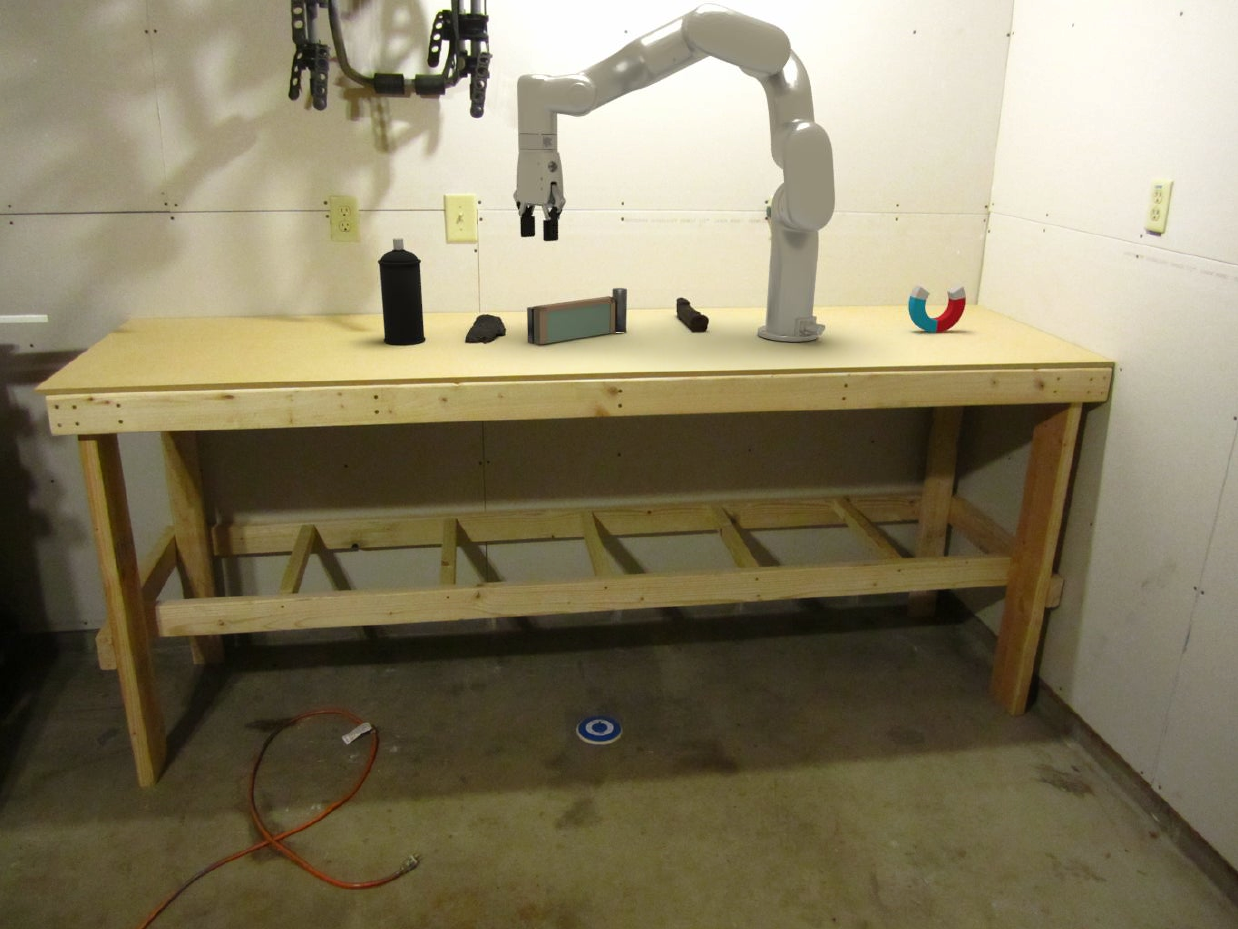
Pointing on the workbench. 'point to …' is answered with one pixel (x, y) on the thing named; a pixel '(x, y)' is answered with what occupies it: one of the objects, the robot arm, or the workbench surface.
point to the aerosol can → (401, 296)
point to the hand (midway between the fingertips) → (539, 238)
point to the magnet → (943, 321)
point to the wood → (485, 329)
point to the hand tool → (691, 316)
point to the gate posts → (620, 313)
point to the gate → (574, 319)
